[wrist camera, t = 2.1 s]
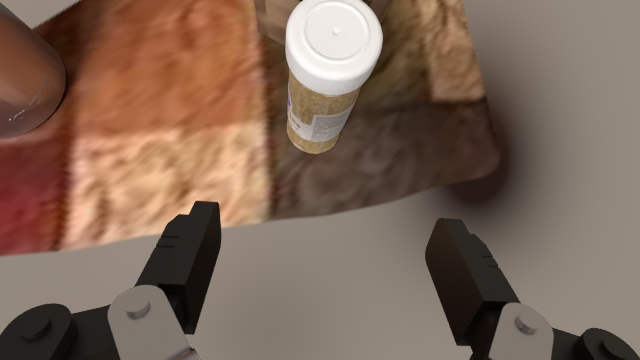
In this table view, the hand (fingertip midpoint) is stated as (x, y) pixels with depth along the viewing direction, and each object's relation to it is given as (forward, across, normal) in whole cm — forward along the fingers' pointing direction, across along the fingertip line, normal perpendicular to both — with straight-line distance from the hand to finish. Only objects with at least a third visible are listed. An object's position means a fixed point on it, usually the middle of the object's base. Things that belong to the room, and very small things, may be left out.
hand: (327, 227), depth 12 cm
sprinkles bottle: (+17, 0, +4) cm, 17 cm away
